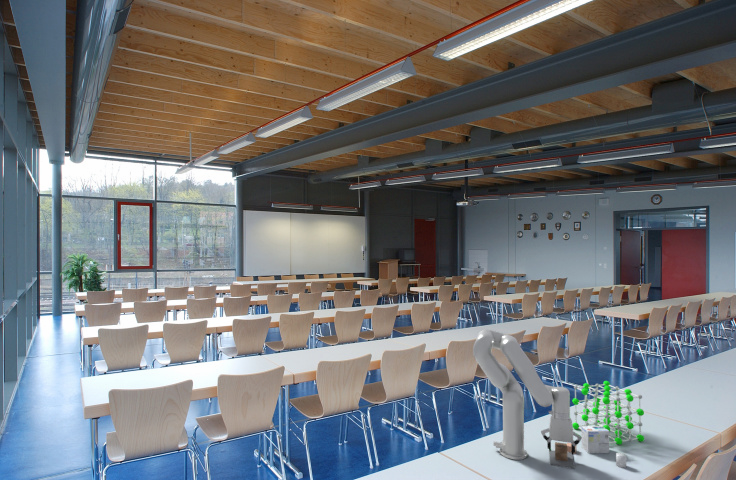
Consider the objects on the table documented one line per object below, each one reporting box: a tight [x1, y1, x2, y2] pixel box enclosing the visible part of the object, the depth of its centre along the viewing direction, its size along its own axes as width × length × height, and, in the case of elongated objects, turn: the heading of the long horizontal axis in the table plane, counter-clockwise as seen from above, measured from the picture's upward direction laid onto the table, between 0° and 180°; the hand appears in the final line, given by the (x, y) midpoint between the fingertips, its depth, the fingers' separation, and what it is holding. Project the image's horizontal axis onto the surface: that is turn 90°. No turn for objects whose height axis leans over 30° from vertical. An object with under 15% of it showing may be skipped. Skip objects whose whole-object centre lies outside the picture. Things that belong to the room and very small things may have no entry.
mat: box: [548, 449, 575, 470], centre depth 205 cm, size 10×14×1 cm
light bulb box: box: [580, 425, 610, 454], centre depth 215 cm, size 11×7×11 cm, turn 92°
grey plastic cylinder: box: [615, 452, 627, 469], centre depth 200 cm, size 4×4×5 cm
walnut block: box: [554, 441, 568, 461], centre depth 206 cm, size 5×5×6 cm
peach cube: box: [566, 442, 578, 454], centre depth 214 cm, size 4×4×3 cm
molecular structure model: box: [571, 380, 645, 446], centre depth 233 cm, size 24×25×24 cm
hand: (561, 452), depth 206 cm, fingers open, 9 cm apart
